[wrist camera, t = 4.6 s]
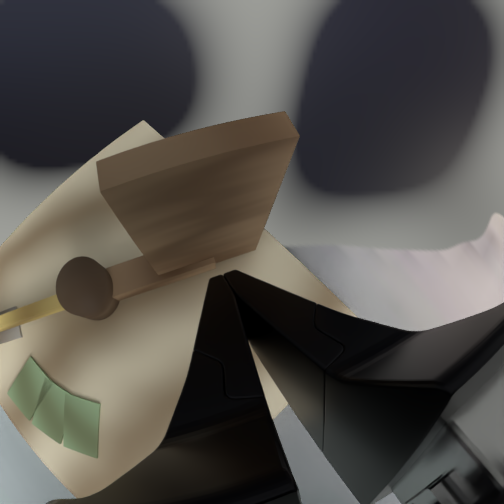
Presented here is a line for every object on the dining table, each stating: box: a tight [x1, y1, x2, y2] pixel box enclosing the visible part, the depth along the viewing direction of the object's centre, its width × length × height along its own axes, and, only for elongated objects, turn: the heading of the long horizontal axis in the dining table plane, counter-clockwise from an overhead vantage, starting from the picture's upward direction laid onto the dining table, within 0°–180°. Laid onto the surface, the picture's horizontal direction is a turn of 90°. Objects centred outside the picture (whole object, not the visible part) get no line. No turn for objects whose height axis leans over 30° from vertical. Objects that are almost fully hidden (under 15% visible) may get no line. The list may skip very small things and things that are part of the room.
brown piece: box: [0, 111, 299, 332], centre depth 11 cm, size 18×3×10 cm, turn 111°
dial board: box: [0, 120, 358, 498], centre depth 16 cm, size 20×21×1 cm
